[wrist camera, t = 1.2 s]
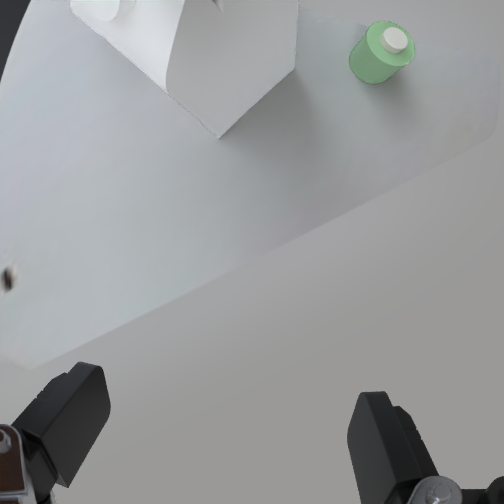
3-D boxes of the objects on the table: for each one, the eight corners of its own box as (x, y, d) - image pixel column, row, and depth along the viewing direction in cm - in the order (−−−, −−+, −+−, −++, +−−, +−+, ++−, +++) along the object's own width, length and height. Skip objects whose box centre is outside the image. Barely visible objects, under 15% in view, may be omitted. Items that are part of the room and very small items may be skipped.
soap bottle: (347, 42, 30) (367, 11, 21) (388, 48, 29) (416, 21, 21) (350, 81, 31) (373, 57, 23) (392, 86, 31) (423, 66, 22)
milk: (294, 68, 31) (339, -104, 6) (218, 139, 33) (96, 66, 8) (218, 7, 29) (156, -158, 4) (147, 73, 32) (-12, -29, 6)
